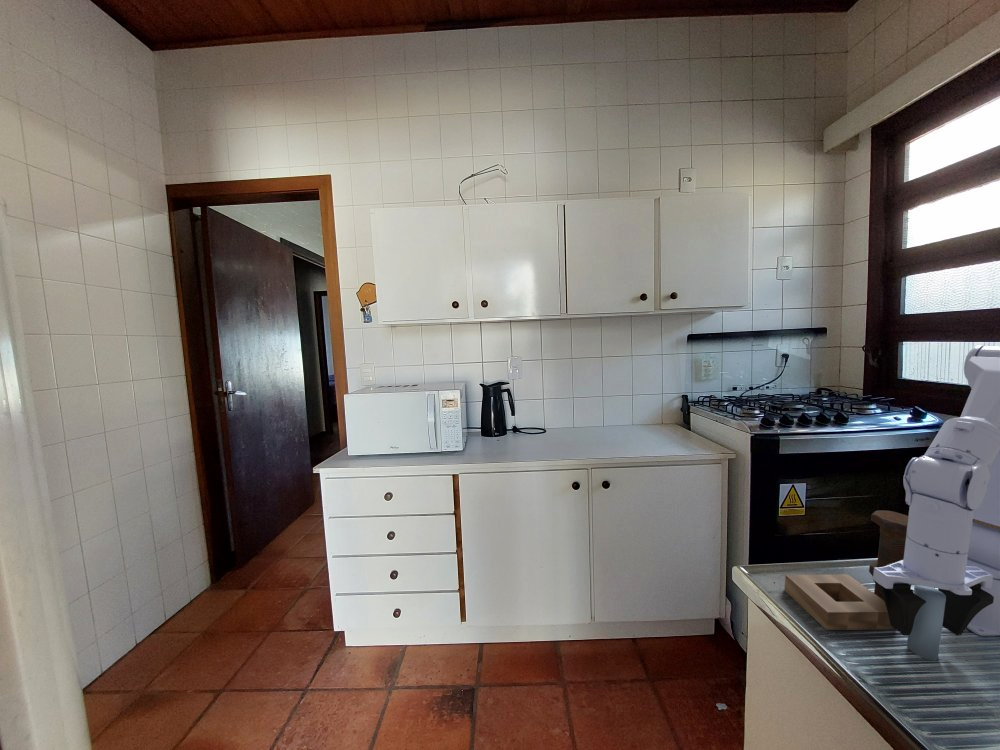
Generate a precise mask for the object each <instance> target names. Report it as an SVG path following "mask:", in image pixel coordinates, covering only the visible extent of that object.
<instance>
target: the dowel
mask: <svg viewBox="0 0 1000 750" xmlns="http://www.w3.org/2000/svg"><path fill="white" fill-rule="evenodd" d="M913 586H914V587H913V590H914V592H913V593H914V594H916V595H917V596H919V597H920V598H922V599H923V600H925V601H926V603H925V604H924V605H923V606H922V607H921V608H920V609H919V611H918V612H917V614H916V617H915V620H914V624H913V629H912V632H911V633H910V635H909V636H908V637H907V645H906V646H907V648H908V649H909V650H910V651H911V652H912V653H913V654H914V655H916V656H918V657H921V658H923V659H926V660H930V661H936V660H938V659H939V652H940V644H941V639H942V630H943V626H942V624H943V617H944V609H945V602H946V595H945V594H944V593H942V592H941V591H939V590H938V588H932V587H926V586H920V585H913Z"/></svg>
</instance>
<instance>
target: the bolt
mask: <svg viewBox="0 0 1000 750" xmlns="http://www.w3.org/2000/svg"><path fill="white" fill-rule="evenodd" d="M908 516H909V515H907V514H903V513H900V512H896V511H891V510H879V509H878V510H875V511H874V512H872V513H871V516H870V521H872V522H873V523H875V524H876V525H878V526H879V532H880V533H879V534H880V535H879V540H878V541H879V543H878V554H877V560H876V561H875V562H872V563H871V564H870V565H869V567H868V572H869V574H870V575H871V576H872V577H873V573H874V568H877V567H884V566H887V565H890V564H893V563H895V562H898V561H901V560H904V551H905V542H906V534H907V525H908ZM873 593H874V594H876V595H877V596H878V597H880V598H881V599H882V600H884V599H883V597H882V595H881V593H880V591H879V589H878V587H877V585H876V584H875V583H874V588H873Z"/></svg>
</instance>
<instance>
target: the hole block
mask: <svg viewBox="0 0 1000 750" xmlns="http://www.w3.org/2000/svg"><path fill="white" fill-rule="evenodd" d="M784 578H785V579H784V589H783V591H785V593H787V594H788V595H789V596H790V597H791V598H792V599H793V600H794V601H795V602H796V603H798V605H799V606H800V607H802V609H804V610H805V611H806V612H807V613H808V614H809V615H810V616H811V617H812V618H814V620H815V621H817V623H819V625H821V627H823V628H824V629H825V630H828V631H830V630H831V631H832V630H834V631H835V630H838V631H839V630H840V631H843V630H847V631H848V630H853V631H854V630H896V629H895V628H894V627H892V626H891V625H890V620H889V616H888V612H887V608H886V605H885V602H884V600H882V599H881V598H880V597H878V596H877V595H876V594H874V591H871V590H870V589H869V588H867V587H866V586H865V585H863V584H862V583H860V582H859V581H858V580H856V579H855V578H853V577H852V576H851V575H850V574H848V573H847V574H846V573H845V574H844V573H843V574H785V577H784ZM836 599H837V600H840V601H836Z"/></svg>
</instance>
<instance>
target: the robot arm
mask: <svg viewBox="0 0 1000 750" xmlns="http://www.w3.org/2000/svg"><path fill="white" fill-rule="evenodd" d="M963 373H964V377H965V379H966V380H967V385H968V386H969V387H970V389H971V390H970V391H969V392H970V393H969V395H968V397H967V399H966V401H965V405H964V407H963V410H962V412H961V415H960V417H959V416H958V417H953V418H949V419H947V420H946V421H944V422H943V424H942V426H941V427H940V428H939V430H938V432H937V434H936V435H935V437H934V439H933V440H932V442H931V444H930V445H929V447H928V448H927V450H926V452H924V455H921V456H919V457H916V456H915V457H912V458H911V459H910V460H909V461H908V463H907V465H906V467H905V470H904V475H903V476H902V477H903V479H902V480H903V488H904V490H905V500H904V501H905V504H906V505H908V506H909V507H908V508H909V510H908V515H907V516H908V525H907V534H906V542H905V551H904V560H901V561H898V562H895V563H893V564H890V565H887V566H884V567H877V568H874V573H873V576H872V580H873V582H874V585H875V584H876V585H877V587H878V589H879V591H880V593H881V595H882V597H883V599H884V602H885V605H886V608H887V612H888V616H889V620H890V625H891V626H892V627H894V628H895V629H894V630H896V631H897V632H899V633H900V634H901V635H903V636H904V637H905V636H906V637H907V636H909V635H910V633H911V632H912V629H913V624H914V620H915V617H916V614H917V612H918V611H919V609H920V608H921V607H922V606H923V605H924V604H925V603H926V601H925V600H923V599H922V598H920V597H919V596H917V595H916V594H914V588H913V589H912V586H915V585H920V586H926V587H932V588H935V589H937V590H939V591H941V592H942V593H944V594H945V595H946V602H945V609H944V617H943V624H942V628H943V627H944V628H945V629H946V630H948V631H950V632H951V633H952V634H954V635H955V636H962V635H963V633H964V632H965V630H966V629H968V630H969V631H971V632H972V633H973V634H976V635H978V636H1000V529H996V528H994V527H991V526H987V525H984V524H981V523H977V522H973V520H976V521H980V522H983V523H987V524H989V525H993V526H996V527H999V528H1000V346H986V345H983V344H980V345H979V344H978V345H976V346H974V347H973V348H971V349H970V350H969V351H968V353H967V354H966V357H965V360H964V365H963Z"/></svg>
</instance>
